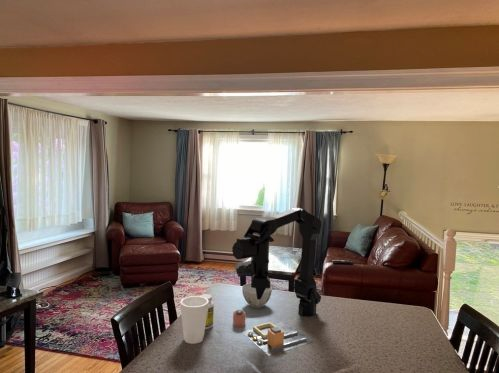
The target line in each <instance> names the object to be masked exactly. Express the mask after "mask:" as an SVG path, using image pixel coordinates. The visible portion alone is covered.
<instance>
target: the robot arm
mask: <svg viewBox="0 0 499 373" xmlns="http://www.w3.org/2000/svg"><path fill="white" fill-rule="evenodd" d="M294 222H295V223H296V224H298V230H299V234H300V236H301V238H302V242H301V258H300V268H299V269H300V272H299V276H297V278H294V280H293V287H292V288H293V291H294V293H295V297H296V298H297V299H299V304H298V309H297V311H298V315H300V316H301V317H314V316H315V315H317V316H320V315H319V314H318V313H317V305H318V304H319V303H321V299H322V296H321V294H319V292H318V290H317V282H316V279H315V278H314V265H315V264H314V263H315V250H316V240H317V238H318V237H319V235H320V234H321V230H322V220H321V219H320V218H319V217H316V216H314V214H311V213H310V212H308V211H307V210H306V209H304V208H301V207H294V206H293V207H292V208H291V209H288V210H284V211H282V212H280V213H277V214H275V215H272V216H262V217H261V216H260V217H256V218H253V219H252V221H251V224H249V227H248V228H247V230H246V232H245V233H244V235H243V237H242V238H241V237H237V238H236V242H234V244H233V246H231V247H232V248H231V251H232V255H233V257H234V258H235V259H236V260H245V259H250V260H247V261H243V262H240V263H238V264H236V265H235V267H234V268H235V272H236V274H237V277H238V278H240V277H242V276H245V275H248V274H250V283H251V287H252V288H256V294H257V299H258V300H260V299H261V297H262V295H263V293H264V291H265V289H266V288H270V286H271V280H270V277H268V276H269V263H270V257H269V256H270V254H269V253H270V243H272V242H273V243H274V242H275V239H274V238H273V237H272V235H273V234H275V233H276V231H277V230H278V229H279V228H282V227H284V226H287V225H290V224H291V223H292V224H293V223H294Z"/></svg>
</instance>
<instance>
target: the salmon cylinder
mask: <svg viewBox="0 0 499 373" xmlns="http://www.w3.org/2000/svg"><path fill="white" fill-rule="evenodd" d="M232 314H233V315H232V325H233V327H236V328H243V327H246V326H245V325H246V312H245V311H244V310H243V309H237V310H235V311H233V313H232Z"/></svg>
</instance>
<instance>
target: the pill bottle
mask: <svg viewBox="0 0 499 373" xmlns="http://www.w3.org/2000/svg"><path fill="white" fill-rule="evenodd" d="M199 296H201V297H205V298H207V299H208V301H209V308H208V312H207V318H206V325H205V330H208V329H211V328H212V327H213V325H214V308H215V307H214V305H215V303H214V302H213V296H212V295H211V294H209V293H208V294H207V293H204V294H200V295H199Z"/></svg>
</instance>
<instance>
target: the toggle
mask: <svg viewBox="0 0 499 373" xmlns="http://www.w3.org/2000/svg"><path fill="white" fill-rule="evenodd" d="M267 343H268V344H269V345H270V346H271V347H275V346H278V345H282V344H284V331H282V330H281V329H279V328H278V327H274V328H271V329H269V330H268V338H267Z"/></svg>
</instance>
